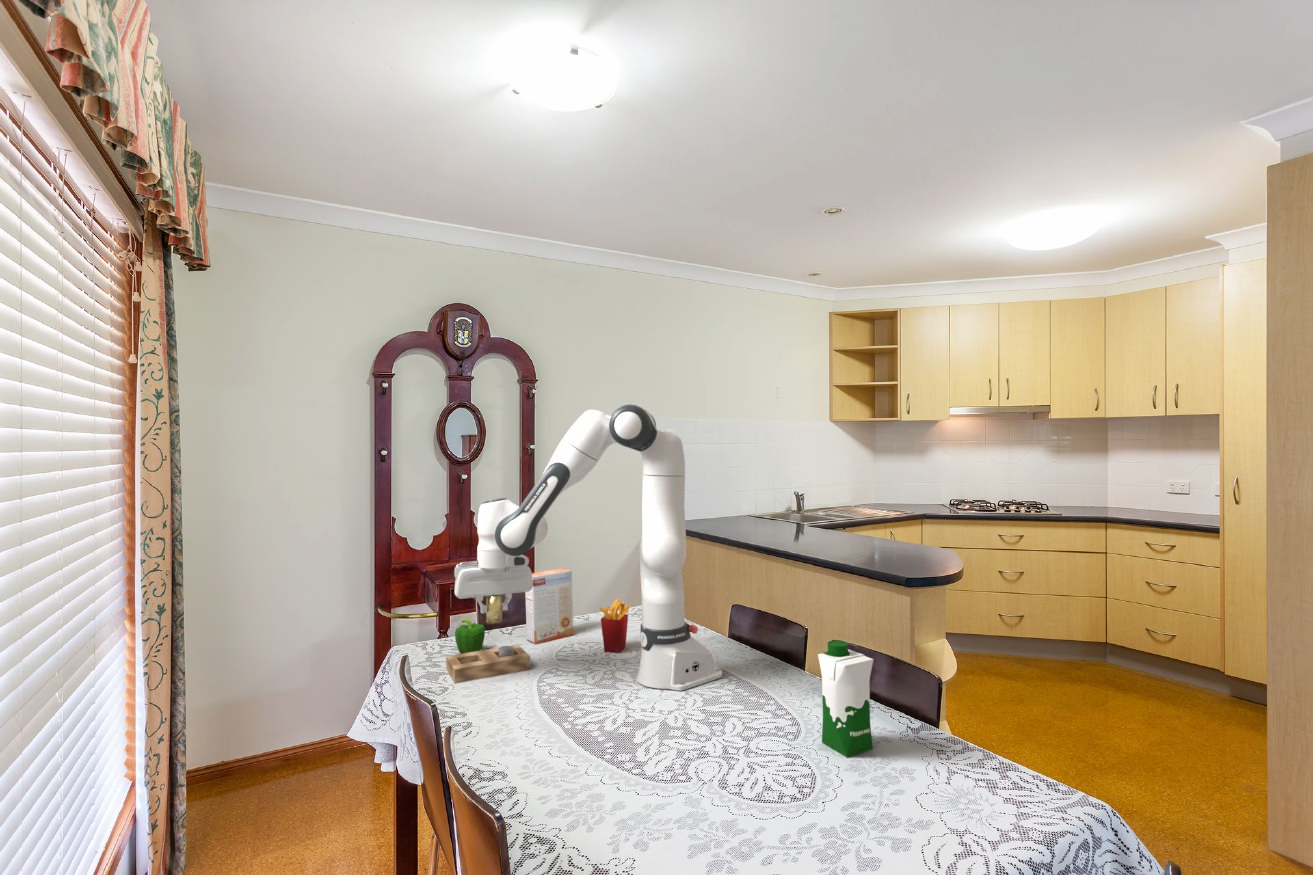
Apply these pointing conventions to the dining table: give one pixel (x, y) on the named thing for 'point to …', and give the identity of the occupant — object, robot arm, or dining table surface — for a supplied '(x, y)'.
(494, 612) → the bushing
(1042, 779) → the dining table surface
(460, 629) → the bell pepper
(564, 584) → the cracker box
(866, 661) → the milk carton
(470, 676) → the jig
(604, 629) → the french fries
